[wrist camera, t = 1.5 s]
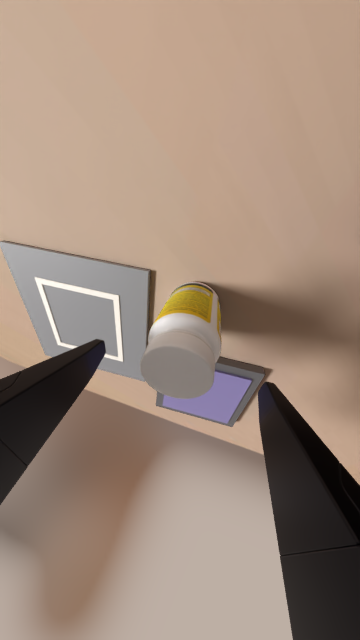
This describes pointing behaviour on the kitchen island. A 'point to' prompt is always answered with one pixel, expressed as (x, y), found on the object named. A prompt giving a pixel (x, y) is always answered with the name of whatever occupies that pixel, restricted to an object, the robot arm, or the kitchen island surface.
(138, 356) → the board
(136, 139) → the kitchen island surface
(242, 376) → the pad
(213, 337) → the supplement bottle
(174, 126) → the kitchen island surface
